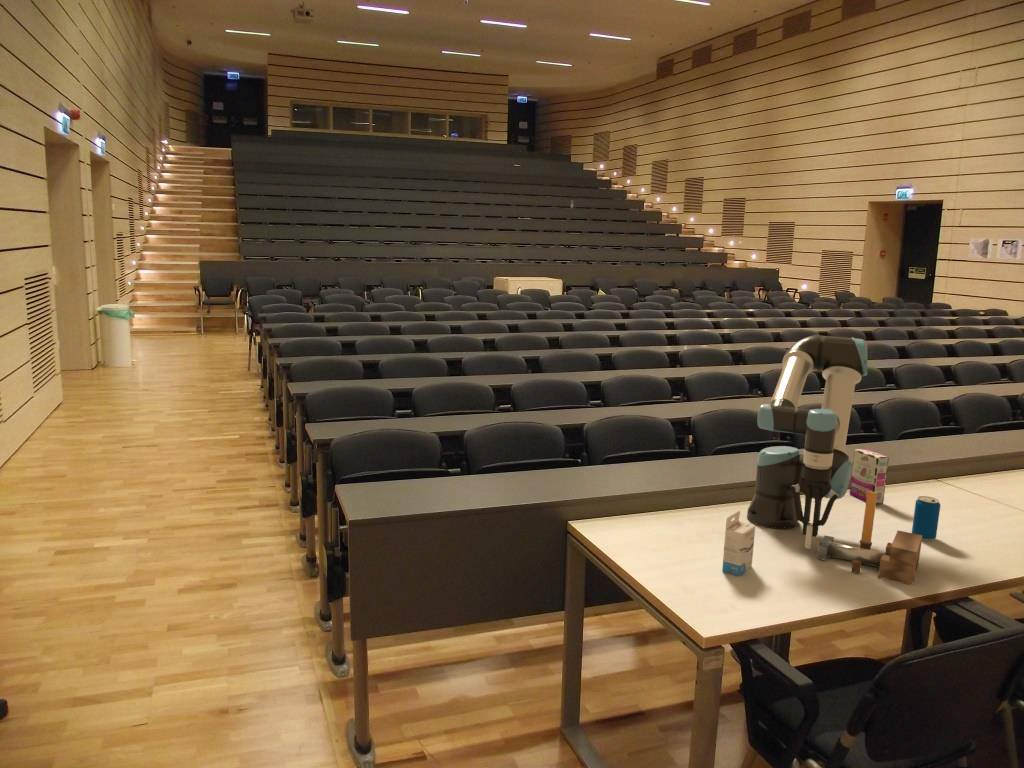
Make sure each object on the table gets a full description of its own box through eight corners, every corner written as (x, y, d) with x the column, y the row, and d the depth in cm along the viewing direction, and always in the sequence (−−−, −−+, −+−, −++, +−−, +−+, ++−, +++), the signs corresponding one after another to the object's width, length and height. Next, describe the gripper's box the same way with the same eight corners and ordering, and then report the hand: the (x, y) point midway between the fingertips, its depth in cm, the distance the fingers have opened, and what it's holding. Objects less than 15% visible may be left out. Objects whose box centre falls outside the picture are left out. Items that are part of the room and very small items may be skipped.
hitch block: (850, 571, 206) (854, 539, 204) (860, 552, 219) (864, 522, 217) (912, 586, 198) (916, 553, 196) (918, 565, 211) (922, 533, 210)
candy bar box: (884, 504, 261) (890, 456, 258) (872, 505, 259) (877, 457, 256) (860, 493, 271) (865, 448, 268) (848, 494, 270) (853, 448, 267)
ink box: (739, 576, 201) (744, 522, 198) (721, 571, 204) (725, 518, 201) (752, 566, 207) (757, 514, 205) (734, 561, 210) (739, 509, 208)
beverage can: (938, 542, 228) (944, 503, 225) (915, 540, 229) (920, 501, 227) (931, 534, 234) (936, 496, 232) (908, 532, 235) (913, 494, 233)
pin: (816, 558, 213) (818, 544, 212) (823, 548, 221) (824, 534, 220) (888, 575, 204) (889, 560, 203) (892, 563, 211) (894, 549, 210)
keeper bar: (866, 491, 215) (866, 490, 216) (859, 543, 217) (860, 542, 218) (878, 493, 214) (878, 492, 215) (871, 546, 215) (871, 545, 216)
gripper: (789, 464, 214) (781, 545, 219) (839, 473, 207) (830, 556, 211) (796, 458, 220) (788, 537, 225) (845, 466, 213) (835, 548, 218)
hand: (808, 546), depth 218 cm, fingers closed
